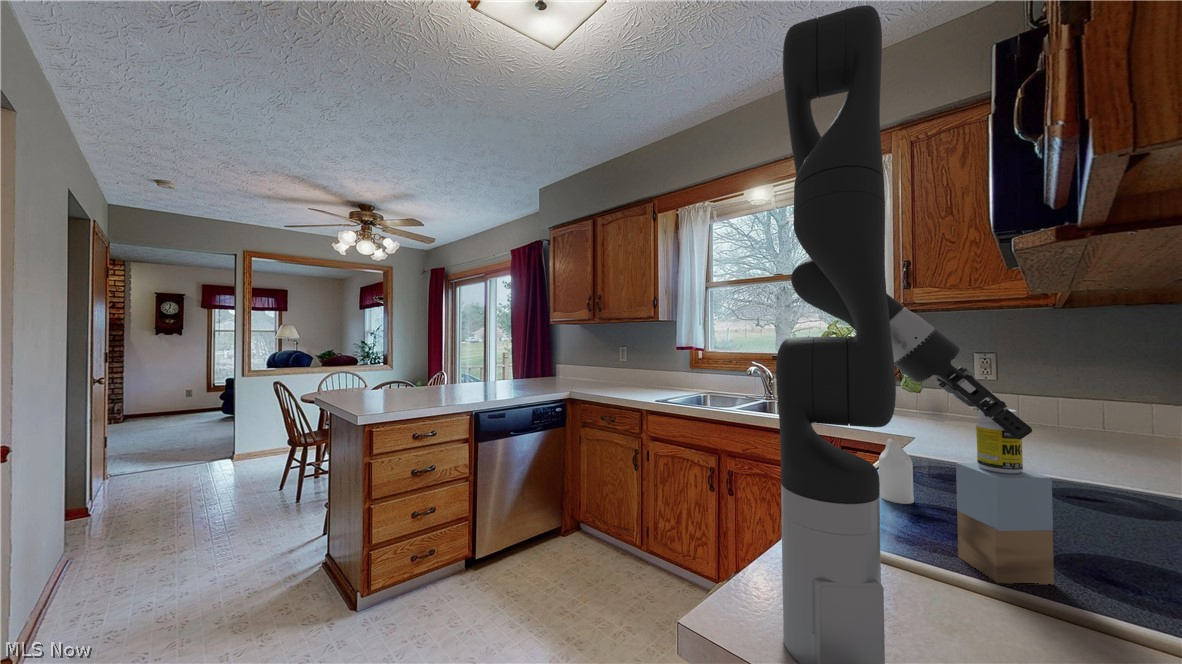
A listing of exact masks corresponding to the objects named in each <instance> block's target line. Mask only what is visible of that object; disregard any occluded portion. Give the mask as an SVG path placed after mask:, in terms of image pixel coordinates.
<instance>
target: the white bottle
mask: <svg viewBox="0 0 1182 664" xmlns="http://www.w3.org/2000/svg"><path fill="white" fill-rule="evenodd" d="M878 474H879V481H880V498H881V499H883V500H885V501H888V502H891V503H895V504H902V505H905V504H906V505H910V504H913V503H914V502H915V500H914V499H915V498H914V496H915V495H914V470H913V461H912V459H911V457H910V456H909V454H908V453H907V451H905V450H904V448H903V447H902V446H901V445H900V444H898V442H896V441H895V440H893V439H892V438H888V439H887V441H886V445H885V448H884V450H882V452H881V453H880V455H879V457H878Z"/></svg>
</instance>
